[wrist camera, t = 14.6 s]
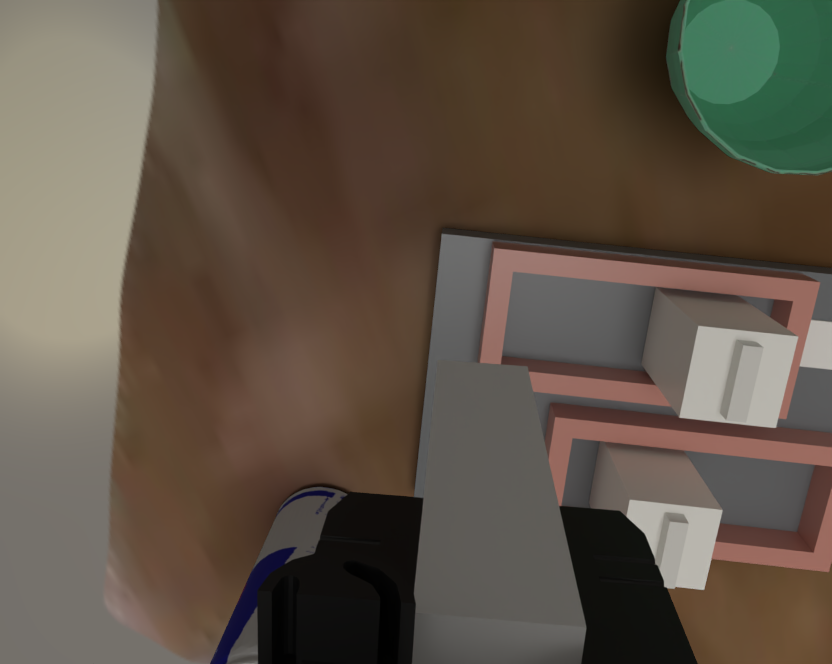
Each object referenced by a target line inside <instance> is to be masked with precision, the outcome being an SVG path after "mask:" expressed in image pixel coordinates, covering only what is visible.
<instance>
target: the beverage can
mask: <svg viewBox="0 0 832 664" xmlns="http://www.w3.org/2000/svg"><path fill="white" fill-rule="evenodd" d="M346 495H347V494H346V493H344V492H342V491H339V490H336V489H333V488H327V487H312V488H307V489H304V490H301V491H299V492H297V493H295V494H293V495H292V496H290V497H289V498H288V499H287V500H286V501H285V502H284V503H283V504H282V506H281V507H280V509H279V511H278V513H277V516H276V518H275V520H274V523H273V525H272V527H271V529H270V532H269V534H268V536H267V538H266V540H265V543H264V545H263V547H262V549H261V552H260V554H259V556H258V558H257V561H256V563H255V565H254V567H253V569H252V572H251V574H250V576H249V578H248V581H247V583H246V585H245V587H244V589H243V592H242V594H241V596H240V598H239V601H238V603H237V605H236V607H235V610H234V612H233V614H232V616H231V618H230V621H229V623H228V625H227V627H226V630H225V632H224V634H223V636H222V639H221V641H220V643H219V645H218V647H217V650H216V652H215V654H214V656H213V659H212V661H211V663H210V664H258V623H257V590H258V589H259V587H260V586H261V585H262V583H263V582H264V581H265V579H266V578H267V577H268V575H269V574H270V573H271V572H272V571H274V570H276V569H277V568H279V567H281V566H282V565H284V564H286V563H287V562H289V561H291V560H293V559H296V558H300V557H304V556H308V555H311V554H314V553H315V550H316V547H317V544H318V541H319V540H320V534H321V531H322V528H323V525H324V522H325V519H326V516H327V513H328V511H329V510H330V509H331V508H332V507H333V506H335V505H336V504H337V503H338V502H339V501H340V500H342V499H343V498H344V497H345V496H346Z"/></svg>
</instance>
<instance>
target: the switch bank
mask: <svg viewBox="0 0 832 664" xmlns="http://www.w3.org/2000/svg"><path fill="white" fill-rule="evenodd" d="M656 287H660V288H669V289H679V290H688V291H698V292H707V293H717V294H726V295H736V296H739V297H741V298H742V299H744V300H745V301H747V302H748V303H749V304H751V305H752V306H754V307H755V308H757V309H758V310H760V311H761V312H763V313H764V314H766V315H767V316H769V317H770V318H772V319H773V320H775V321H776V322H778V323H779V324H781V325H782V326H784V327H785V328H787V329H788V330H790V331H791V332H793V333H794V334H796V335H797V336H798V341H797V345H796V349H795V353H794V357H793V361H792V365H791V369H790V373H789V377H788V381H787V385H786V389H785V393H784V397H783V401H782V405H781V409H780V413H779V417H778V421H777V425H776V428H770V427H760V426H751V425H742V424H733V423H724V422H715V421H705V420H696V419H687V418H679V416H678V415H677V414H676V412H675V411H674V409H673V408H672V407H671V405H670V404H669V402H668V401H667V400H666V398H665V397H664V395H663V394H662V393H661V391H660V390H659V388H658V387H657V386H656V384H655V383H654V381H653V380H652V379H651V377H650V376H649V374H648V373H647V372H646V370H645V369H644V367H643V366H642V364H641V363H642V358H643V352H644V347H645V342H646V336H647V331H648V326H649V321H650V315H651V310H652V305H653V299H654V294H655V289H656ZM438 360H447V361H461V362H475V363H489V364H502V365H516V366H527V367H528V371H529V375H530V380H531V384H532V389H533V393H534V398H535V402H536V406H537V411H538V415H539V420H540V424H541V429H542V433H543V437H544V442H545V446H546V451H547V455H548V459H549V464H550V468H551V473H552V477H553V482H554V486H555V490H556V495H557V499H558V504H559V506H568V507H581V508H591V507H590V504H589V499H590V494H591V488H592V483H593V477H594V471H595V466H596V460H597V455H598V449H599V443H600V441H604V442H613V443H622V444H631V445H640V446H649V447H658V448H667V449H676V450H684V452H685V453H686V455H687V456H688V458H689V459H690V461H691V462H692V464H693V465H694V467H695V469H696V470H697V472H698V473H699V475H700V476H701V478H702V479H703V481H704V482H705V484H706V485H707V487H708V488H709V490H710V491H711V493H712V494H713V496H714V497H715V499H716V501H717V502H718V504H719V505H720V507H721V508H722V510H723V511H722V515H721V520H720V524H719V528H718V533H717V537H716V541H715V545H714V550H713V554H712V558H711V559H718V560H727V561H736V562H744V563H753V564H762V565H771V566H780V567H788V568H797V569H806V570H815V571H824V572H829V569H830V566H831V562H832V268H826V267H816V266H806V265H797V264H787V263H778V262H768V261H758V260H749V259H739V258H729V257H720V256H710V255H701V254H691V253H681V252H672V251H662V250H652V249H643V248H633V247H624V246H614V245H604V244H595V243H585V242H575V241H566V240H556V239H546V238H537V237H527V236H518V235H508V234H498V233H489V232H479V231H469V230H460V229H450V228H443V229H442V237H441V246H440V256H439V265H438V275H437V284H436V294H435V303H434V313H433V322H432V331H431V341H430V350H429V360H428V369H427V379H426V388H425V398H424V407H423V416H422V426H421V435H420V445H419V454H418V464H417V473H416V483H415V492H414V497H420V498H424V489H425V480H426V470H427V460H428V450H429V441H430V431H431V421H432V411H433V402H434V392H435V382H436V372H437V363H438Z"/></svg>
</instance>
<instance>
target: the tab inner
mask: <svg viewBox="0 0 832 664" xmlns="http://www.w3.org/2000/svg"><path fill="white" fill-rule="evenodd" d="M797 341H798V336H797V335H796V334H794V333H793V332H791V331H790V330H788V329H787V328H785V327H784V326H782V325H781V324H779V323H778V322H776V321H775V320H773V319H772V318H770V317H769V316H767V315H766V314H764V313H763V312H761V311H760V310H758V309H757V308H755V307H754V306H752V305H751V304H749V303H748V302H747V301H745V300H744V299H742V298H741V297H739V296H736V295H726V294H717V293H707V292H698V291H688V290H679V289H669V288H660V287H656V289H655V294H654V299H653V305H652V310H651V315H650V321H649V326H648V331H647V336H646V342H645V347H644V352H643V358H642V363H641V364H642V366H643V367H644V369H645V370H646V372H647V373H648V374H649V376H650V377H651V379H652V380H653V381H654V383H655V384H656V386H657V387H658V388H659V390H660V391H661V393H662V394H663V395H664V397H665V398H666V400H667V401H668V402H669V404H670V405H671V407H672V408H673V409H674V411H675V412H676V414H677V415H678V416H679V418H687V419H696V420H705V421H715V422H724V423H733V424H742V425H751V426H760V427H770V428H776V425H777V421H778V417H779V413H780V409H781V405H782V401H783V397H784V393H785V389H786V385H787V381H788V377H789V373H790V369H791V365H792V361H793V357H794V353H795V349H796V345H797Z"/></svg>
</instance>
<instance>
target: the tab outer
mask: <svg viewBox="0 0 832 664" xmlns="http://www.w3.org/2000/svg"><path fill="white" fill-rule="evenodd" d="M589 504H590V507H591V508H593V509H606V510H618V511H621V512H622V513H623V514H624V515H625V516H626V517H627V518H628V519H629V520H630V521H632V522H633V523H634V524H635V525H636V526H637V527H638V528H639V529H640V530H641V531H642V532H643V533H645V535H646V538H647V540H648V543H649V545H650V548H651V550H652V553H653V555H654V558H655V565H658V568H659V570H660V572H661V575H662V577H663V580H664V587H667V588H672V589H675V587H683V588H692V589H700V590H704V588H705V584H706V580H707V575H708V571H709V567H710V562H711V558H712V554H713V550H714V545H715V541H716V537H717V533H718V528H719V524H720V520H721V515H722V511H723V510H722V508H721V507H720V505H719V504H718V502H717V501H716V499H715V497H714V496H713V494H712V493H711V491H710V490H709V488H708V487H707V485H706V484H705V482H704V481H703V479H702V478H701V476H700V475H699V473H698V472H697V470H696V469H695V467H694V465H693V464H692V462H691V461H690V459H689V458H688V456H687V455H686V453H685V452H684V450H676V449H667V448H658V447H649V446H640V445H631V444H622V443H613V442H604V441H600V443H599V449H598V455H597V460H596V466H595V471H594V477H593V483H592V488H591V494H590V499H589Z"/></svg>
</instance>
